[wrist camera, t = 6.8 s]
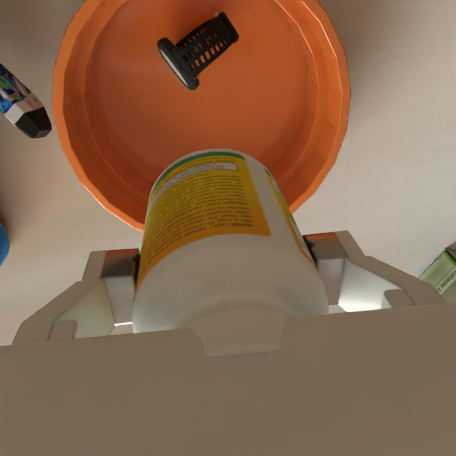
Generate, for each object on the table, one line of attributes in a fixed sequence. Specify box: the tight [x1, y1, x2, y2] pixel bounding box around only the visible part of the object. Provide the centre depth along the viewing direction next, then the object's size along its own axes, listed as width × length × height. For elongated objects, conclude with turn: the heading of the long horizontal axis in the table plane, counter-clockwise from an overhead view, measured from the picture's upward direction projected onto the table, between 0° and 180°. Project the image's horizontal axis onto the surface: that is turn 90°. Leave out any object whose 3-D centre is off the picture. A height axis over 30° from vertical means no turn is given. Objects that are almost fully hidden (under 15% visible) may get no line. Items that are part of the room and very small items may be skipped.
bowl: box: [53, 0, 351, 232], centre depth 29 cm, size 18×18×6 cm
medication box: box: [419, 248, 456, 303], centre depth 42 cm, size 12×3×4 cm, turn 150°
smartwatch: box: [157, 12, 239, 90], centre depth 27 cm, size 4×5×5 cm
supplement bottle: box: [133, 148, 328, 357], centre depth 13 cm, size 5×5×10 cm
